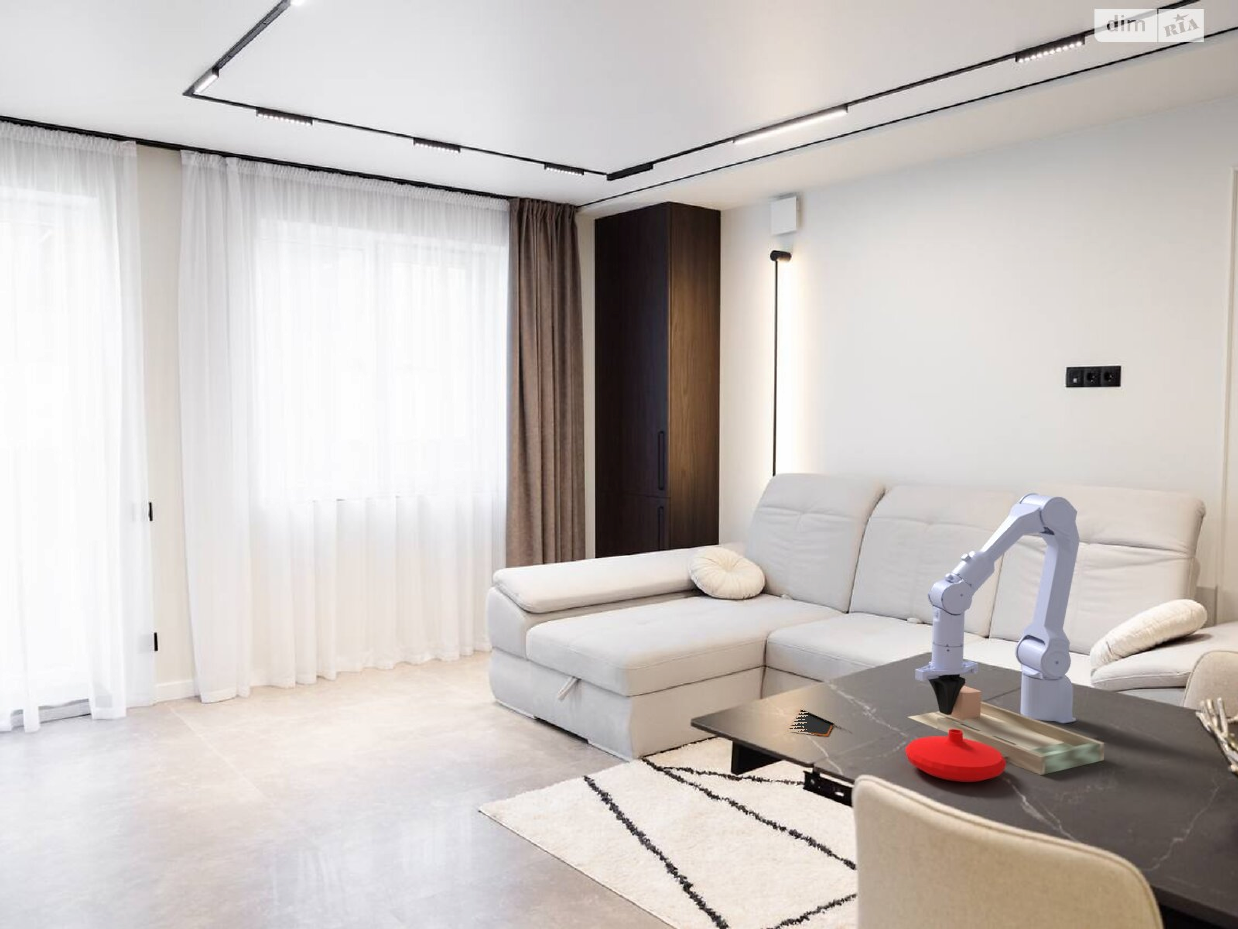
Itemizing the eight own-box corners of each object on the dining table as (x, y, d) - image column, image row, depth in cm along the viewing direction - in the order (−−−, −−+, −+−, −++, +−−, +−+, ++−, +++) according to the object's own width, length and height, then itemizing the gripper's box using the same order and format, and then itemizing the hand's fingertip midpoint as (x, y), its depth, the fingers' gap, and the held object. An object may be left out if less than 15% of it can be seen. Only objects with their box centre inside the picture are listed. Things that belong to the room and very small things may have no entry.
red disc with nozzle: (995, 800, 145) (997, 754, 144) (893, 778, 153) (894, 735, 153) (1013, 768, 158) (1015, 727, 158) (918, 750, 166) (919, 710, 166)
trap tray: (967, 711, 189) (967, 696, 189) (1103, 760, 162) (1104, 743, 162) (907, 722, 181) (907, 706, 181) (1040, 775, 155) (1040, 757, 155)
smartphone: (787, 734, 175) (787, 729, 175) (803, 709, 190) (803, 705, 190) (828, 739, 172) (828, 734, 172) (841, 713, 188) (841, 709, 188)
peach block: (960, 709, 187) (961, 684, 186) (980, 716, 182) (981, 691, 182) (941, 712, 184) (942, 687, 184) (961, 720, 180) (962, 694, 180)
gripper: (958, 635, 187) (956, 703, 188) (904, 642, 181) (902, 712, 181) (987, 643, 181) (985, 713, 182) (932, 651, 175) (929, 723, 175)
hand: (945, 713), depth 181 cm, fingers closed
